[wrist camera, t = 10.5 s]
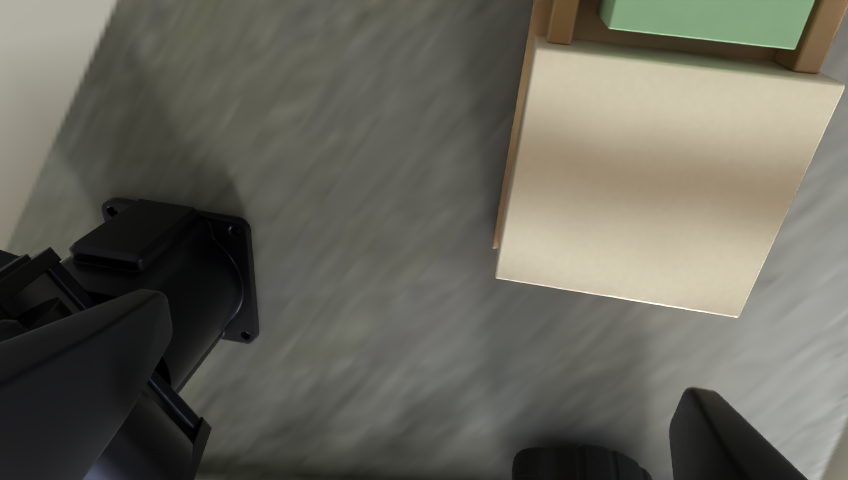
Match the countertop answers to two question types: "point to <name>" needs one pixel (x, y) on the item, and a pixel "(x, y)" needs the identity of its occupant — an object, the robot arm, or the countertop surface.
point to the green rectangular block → (712, 19)
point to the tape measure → (575, 464)
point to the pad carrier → (657, 157)
